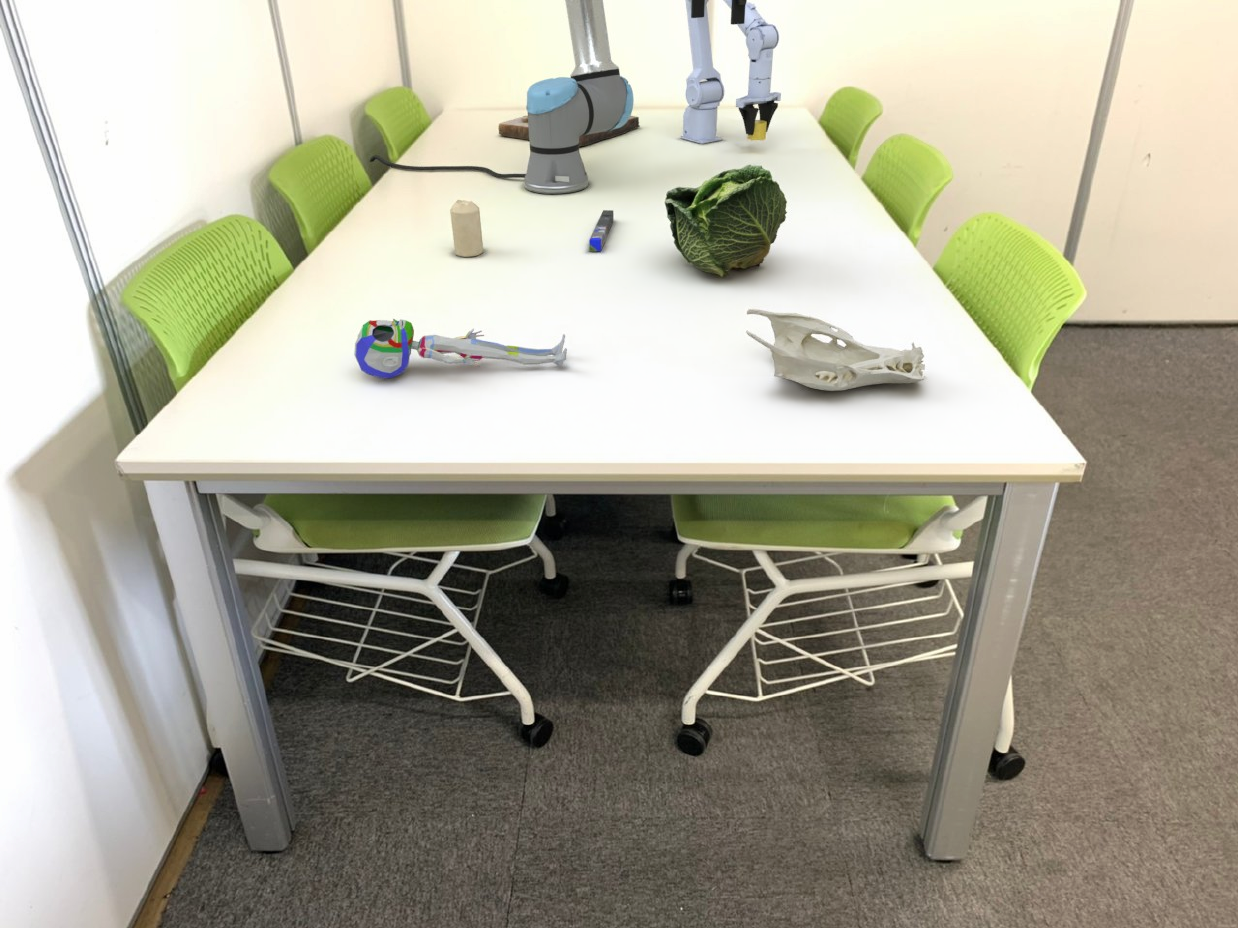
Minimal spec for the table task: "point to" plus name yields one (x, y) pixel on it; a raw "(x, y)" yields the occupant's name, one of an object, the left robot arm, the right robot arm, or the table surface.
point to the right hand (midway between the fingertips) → (756, 133)
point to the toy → (435, 349)
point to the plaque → (521, 131)
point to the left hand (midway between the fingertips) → (717, 21)
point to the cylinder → (759, 130)
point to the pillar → (601, 230)
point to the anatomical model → (834, 356)
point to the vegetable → (727, 219)
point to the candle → (466, 228)
